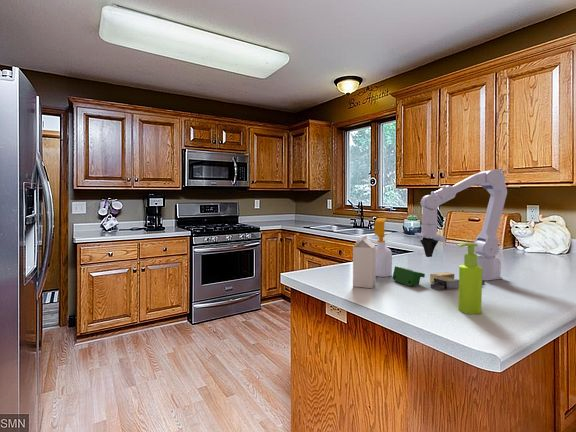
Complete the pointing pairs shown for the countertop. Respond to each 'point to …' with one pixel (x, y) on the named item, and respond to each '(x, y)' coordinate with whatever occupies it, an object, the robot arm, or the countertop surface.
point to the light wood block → (442, 276)
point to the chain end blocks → (446, 284)
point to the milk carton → (364, 263)
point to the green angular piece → (407, 276)
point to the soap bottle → (382, 251)
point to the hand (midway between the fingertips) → (428, 256)
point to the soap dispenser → (470, 282)
